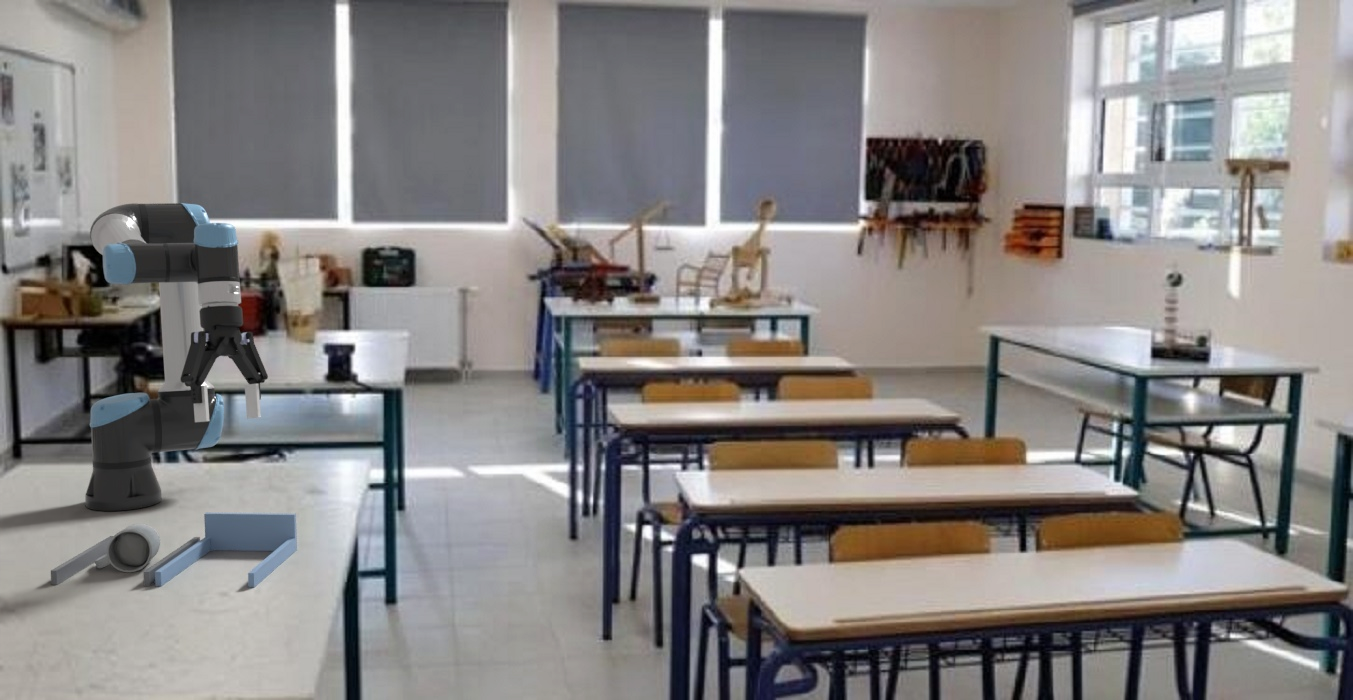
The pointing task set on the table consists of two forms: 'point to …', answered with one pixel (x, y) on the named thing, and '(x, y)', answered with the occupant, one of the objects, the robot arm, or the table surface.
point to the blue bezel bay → (240, 542)
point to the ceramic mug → (131, 548)
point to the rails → (101, 549)
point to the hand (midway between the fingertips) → (228, 420)
